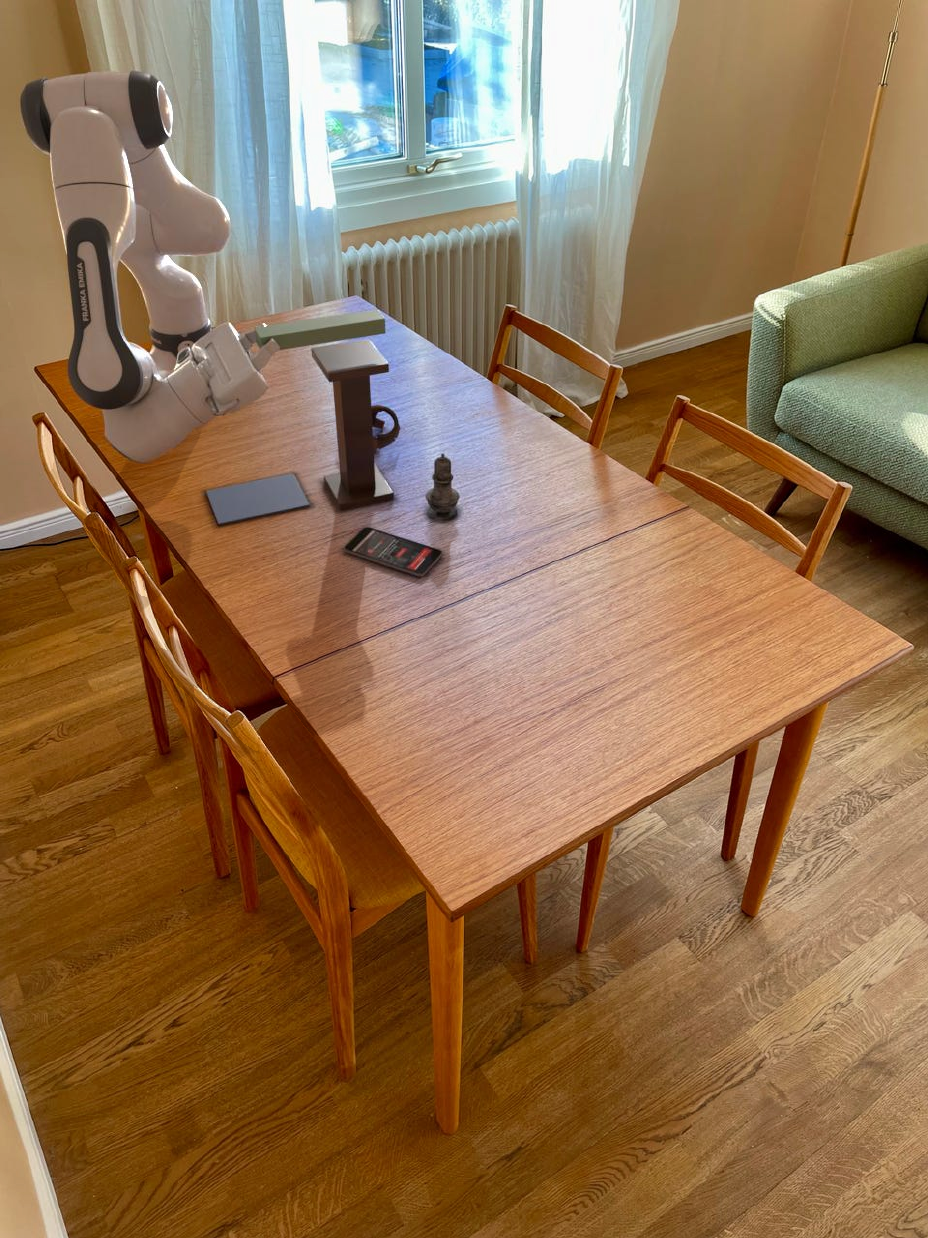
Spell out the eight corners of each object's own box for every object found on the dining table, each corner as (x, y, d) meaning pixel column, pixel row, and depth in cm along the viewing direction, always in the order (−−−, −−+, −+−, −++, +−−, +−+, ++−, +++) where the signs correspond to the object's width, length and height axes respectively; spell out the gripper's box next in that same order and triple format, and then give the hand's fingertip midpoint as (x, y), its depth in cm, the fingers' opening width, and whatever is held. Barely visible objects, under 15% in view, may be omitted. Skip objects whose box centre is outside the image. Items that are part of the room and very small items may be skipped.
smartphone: (422, 575, 150) (342, 548, 155) (422, 578, 151) (342, 552, 156) (443, 550, 155) (365, 525, 160) (443, 554, 156) (365, 529, 161)
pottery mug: (397, 428, 188) (405, 405, 181) (391, 468, 184) (399, 446, 177) (337, 414, 186) (343, 390, 178) (330, 455, 182) (336, 432, 175)
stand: (323, 482, 172) (311, 347, 155) (376, 471, 175) (369, 338, 158) (340, 511, 165) (328, 373, 148) (394, 499, 168) (388, 363, 151)
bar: (256, 342, 148) (254, 327, 146) (377, 323, 154) (376, 308, 152) (262, 353, 145) (260, 337, 143) (385, 333, 151) (385, 318, 149)
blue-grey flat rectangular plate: (205, 492, 169) (205, 490, 169) (293, 474, 174) (293, 472, 173) (218, 525, 161) (218, 523, 161) (309, 506, 166) (309, 504, 166)
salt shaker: (447, 526, 162) (448, 466, 154) (419, 515, 164) (418, 455, 157) (465, 510, 166) (467, 450, 158) (437, 499, 168) (437, 440, 160)
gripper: (201, 405, 137) (277, 347, 136) (176, 347, 151) (244, 294, 150) (228, 434, 142) (301, 378, 141) (201, 375, 156) (268, 324, 155)
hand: (272, 334), depth 146 cm, fingers closed on bar, 4 cm apart
